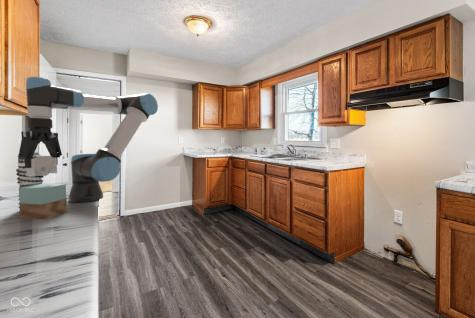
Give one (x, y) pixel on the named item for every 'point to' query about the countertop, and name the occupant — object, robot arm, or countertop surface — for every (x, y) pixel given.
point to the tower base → (43, 209)
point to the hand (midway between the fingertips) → (42, 174)
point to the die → (44, 165)
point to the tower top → (42, 193)
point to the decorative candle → (22, 173)
